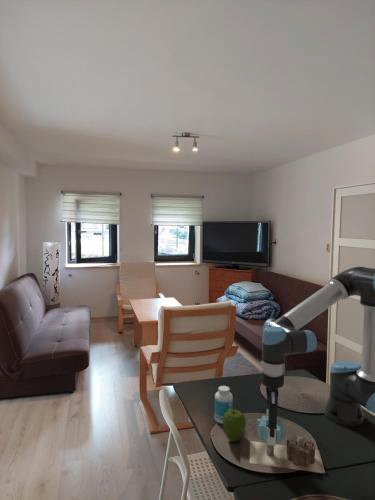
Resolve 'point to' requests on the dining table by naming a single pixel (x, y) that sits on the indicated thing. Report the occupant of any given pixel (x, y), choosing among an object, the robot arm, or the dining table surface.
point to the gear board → (281, 456)
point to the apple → (234, 424)
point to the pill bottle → (222, 403)
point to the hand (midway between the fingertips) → (270, 435)
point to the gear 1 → (263, 430)
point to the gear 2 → (300, 452)
